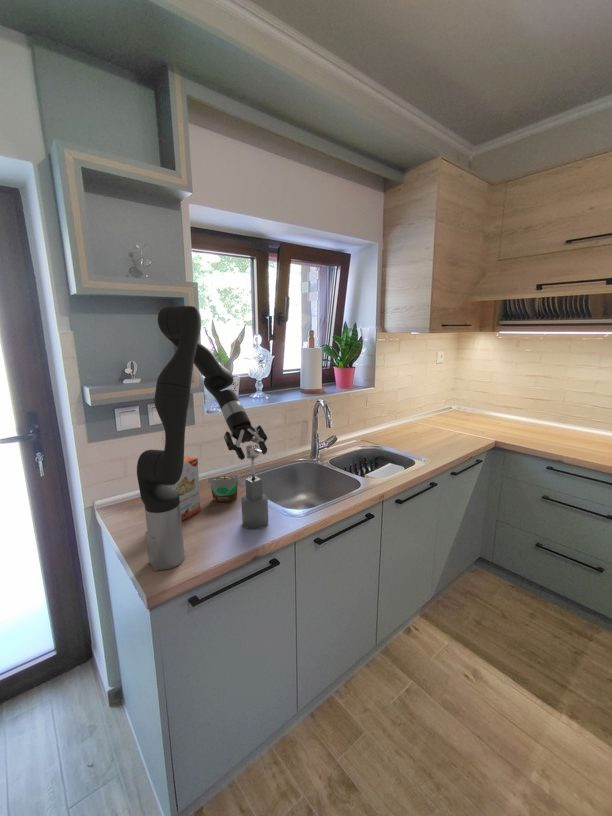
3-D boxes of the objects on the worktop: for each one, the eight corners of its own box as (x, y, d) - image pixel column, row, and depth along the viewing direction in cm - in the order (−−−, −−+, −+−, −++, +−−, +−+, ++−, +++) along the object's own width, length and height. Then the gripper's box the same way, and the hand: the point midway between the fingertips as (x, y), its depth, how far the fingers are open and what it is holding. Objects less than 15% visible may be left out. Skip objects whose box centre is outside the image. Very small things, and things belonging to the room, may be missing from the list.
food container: (209, 507, 139) (208, 482, 137) (209, 500, 144) (207, 476, 143) (242, 502, 142) (241, 478, 140) (240, 496, 148) (239, 472, 146)
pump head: (256, 487, 118) (255, 451, 116) (245, 480, 124) (243, 446, 122) (267, 484, 121) (265, 449, 119) (255, 477, 126) (254, 444, 124)
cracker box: (172, 528, 124) (166, 469, 120) (160, 523, 127) (154, 466, 123) (202, 510, 136) (198, 457, 132) (190, 507, 139) (186, 455, 135)
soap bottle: (251, 532, 120) (249, 486, 117) (237, 521, 127) (235, 478, 124) (273, 523, 126) (272, 479, 123) (259, 513, 133) (257, 472, 130)
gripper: (220, 413, 120) (239, 454, 114) (256, 407, 129) (276, 445, 123) (214, 426, 125) (232, 466, 119) (249, 419, 134) (268, 456, 128)
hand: (254, 455), depth 121 cm, fingers open, 8 cm apart
